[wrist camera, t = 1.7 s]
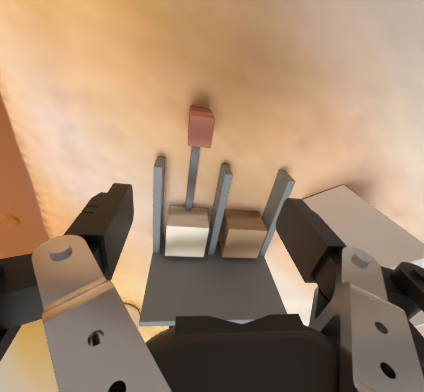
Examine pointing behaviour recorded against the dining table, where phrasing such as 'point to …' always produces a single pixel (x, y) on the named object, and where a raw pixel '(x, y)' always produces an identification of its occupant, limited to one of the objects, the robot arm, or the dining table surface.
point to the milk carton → (368, 230)
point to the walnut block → (241, 234)
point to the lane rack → (212, 266)
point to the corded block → (191, 195)
